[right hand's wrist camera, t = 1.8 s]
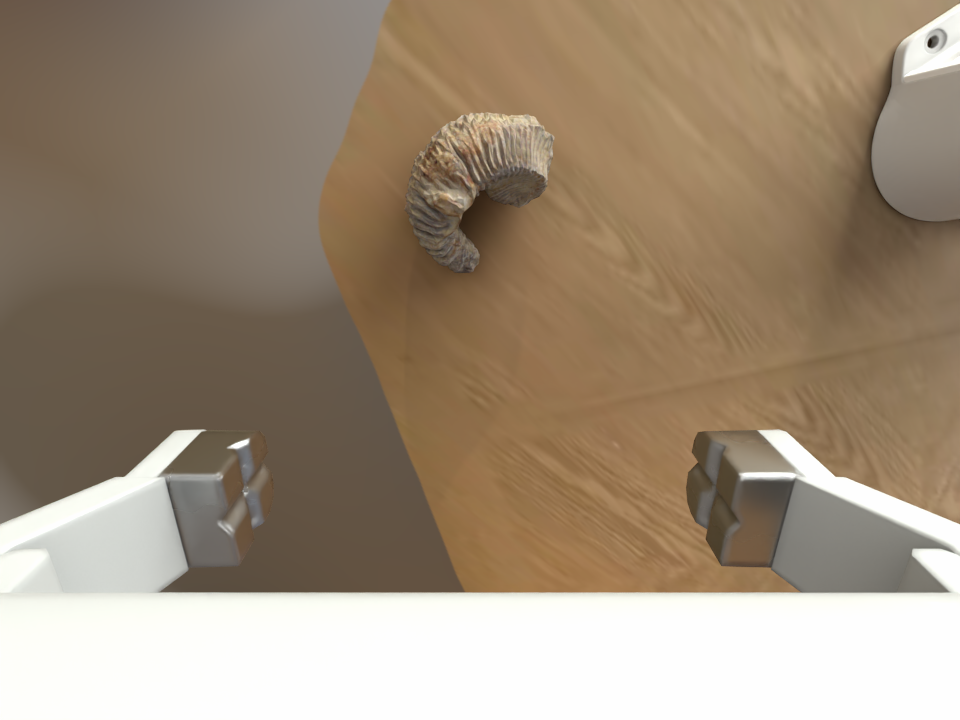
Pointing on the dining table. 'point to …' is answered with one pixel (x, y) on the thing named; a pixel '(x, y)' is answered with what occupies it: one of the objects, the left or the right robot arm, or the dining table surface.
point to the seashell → (474, 178)
